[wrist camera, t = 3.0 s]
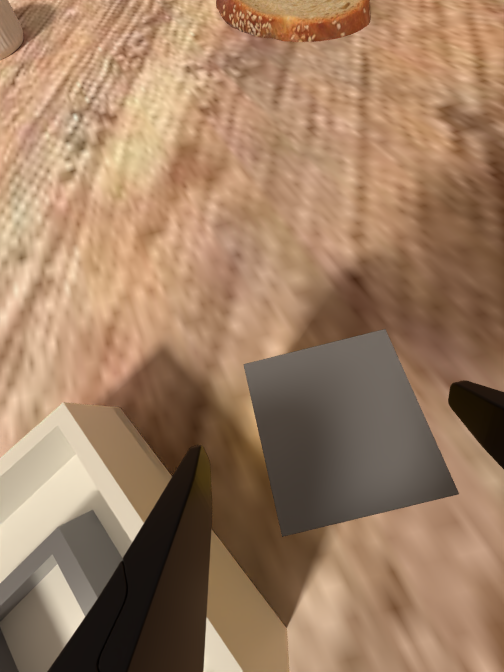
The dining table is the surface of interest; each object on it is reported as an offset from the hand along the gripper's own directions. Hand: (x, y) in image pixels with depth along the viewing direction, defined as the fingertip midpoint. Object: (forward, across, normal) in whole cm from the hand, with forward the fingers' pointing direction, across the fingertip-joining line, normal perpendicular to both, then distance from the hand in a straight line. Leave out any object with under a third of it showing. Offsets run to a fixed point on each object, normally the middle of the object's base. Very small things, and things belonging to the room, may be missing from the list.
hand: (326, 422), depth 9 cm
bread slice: (+42, -13, -29) cm, 53 cm away
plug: (+6, 0, +6) cm, 8 cm away
